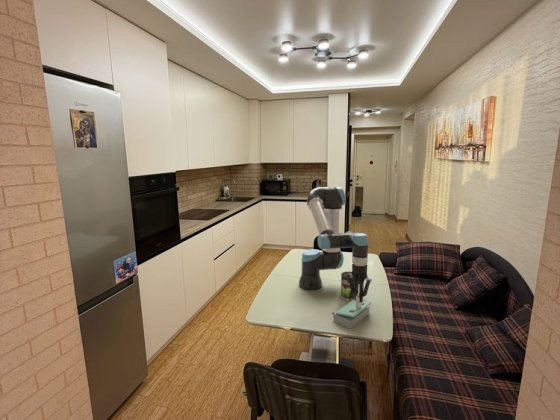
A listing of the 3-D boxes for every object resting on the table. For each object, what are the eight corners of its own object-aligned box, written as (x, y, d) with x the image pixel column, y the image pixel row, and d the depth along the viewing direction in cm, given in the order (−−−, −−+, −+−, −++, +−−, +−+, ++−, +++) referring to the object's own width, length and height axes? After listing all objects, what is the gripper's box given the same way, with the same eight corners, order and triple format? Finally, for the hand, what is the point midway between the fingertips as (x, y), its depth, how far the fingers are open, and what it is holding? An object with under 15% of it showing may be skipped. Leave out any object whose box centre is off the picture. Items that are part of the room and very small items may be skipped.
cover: (335, 313, 156) (335, 311, 156) (353, 300, 170) (353, 298, 170) (354, 317, 149) (353, 314, 149) (371, 303, 163) (371, 301, 163)
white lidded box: (332, 321, 157) (332, 312, 156) (352, 306, 173) (352, 298, 172) (350, 329, 150) (350, 320, 149) (369, 312, 166) (370, 304, 165)
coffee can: (351, 302, 177) (352, 279, 174) (337, 296, 184) (337, 274, 182) (361, 296, 184) (362, 274, 182) (346, 291, 191) (347, 270, 189)
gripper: (344, 262, 155) (343, 305, 159) (368, 269, 146) (366, 314, 150) (351, 259, 161) (350, 300, 165) (375, 264, 152) (373, 308, 156)
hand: (358, 307), depth 158 cm, fingers closed
